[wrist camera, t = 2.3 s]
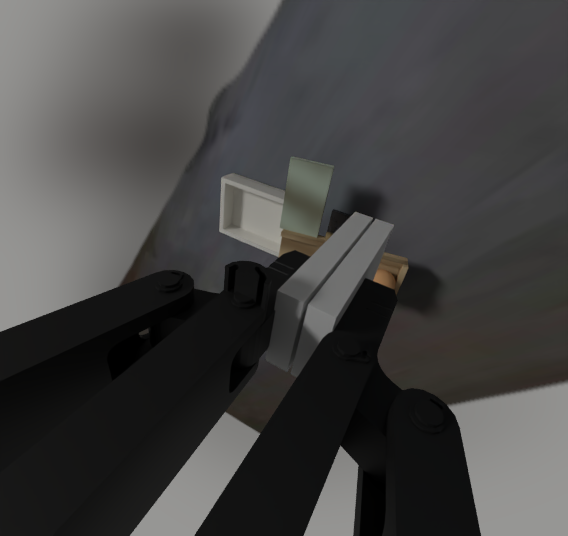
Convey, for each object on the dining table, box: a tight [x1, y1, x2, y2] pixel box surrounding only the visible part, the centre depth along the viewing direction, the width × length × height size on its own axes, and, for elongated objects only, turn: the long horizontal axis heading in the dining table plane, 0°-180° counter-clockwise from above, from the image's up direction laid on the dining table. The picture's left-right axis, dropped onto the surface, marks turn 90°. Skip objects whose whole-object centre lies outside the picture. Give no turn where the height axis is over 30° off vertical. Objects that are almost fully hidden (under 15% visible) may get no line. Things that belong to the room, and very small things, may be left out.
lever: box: [278, 156, 408, 295], centre depth 40 cm, size 16×16×2 cm
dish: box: [219, 173, 285, 257], centre depth 51 cm, size 9×12×3 cm
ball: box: [373, 269, 396, 289], centre depth 40 cm, size 4×4×4 cm
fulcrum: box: [327, 210, 352, 233], centre depth 46 cm, size 9×4×5 cm, turn 170°
